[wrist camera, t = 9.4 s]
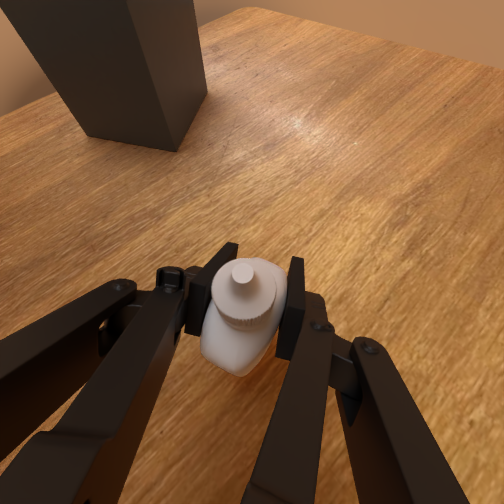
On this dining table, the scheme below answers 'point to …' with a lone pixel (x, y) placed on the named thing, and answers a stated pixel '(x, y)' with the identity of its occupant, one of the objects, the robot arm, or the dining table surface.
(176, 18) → the pedestal
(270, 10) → the dining table surface
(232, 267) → the eye dropper bottle
